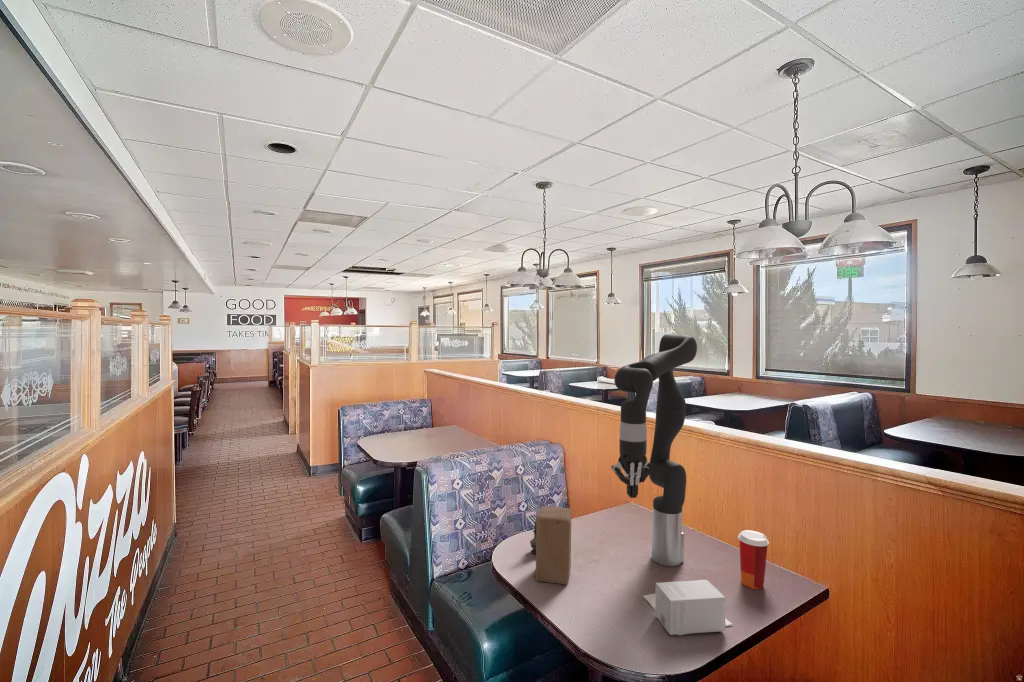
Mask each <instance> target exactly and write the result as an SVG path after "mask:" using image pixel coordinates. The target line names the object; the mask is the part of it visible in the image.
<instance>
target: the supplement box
mask: <svg viewBox="0 0 1024 682" xmlns="http://www.w3.org/2000/svg"><path fill="white" fill-rule="evenodd" d="M655 594H656V598H655V609H654V610H655V611H654V612H655V613H654V614H655V616H656V618H657V619H658V621H659V622H660V623H661V624H662V626H663V627H664V630H665V631H666V632H667V633H668V634H669V635H670V636H673V635H674V636H675V635H678V634H685V635H691V634H699V633H700V634H703V633H715V632H717V633H718V632H726V627H725V618H726V600H727V599H726V597H725V596H724V595H723V593H721V592H720V591H719V589H718V588H717V587H715V586H714V585H713V584H712V583H711V582H710V581H709V580H708V579H698V580H697V579H695V580H681V581H680V580H679V581H668V582H663V581H662V582H655Z"/></svg>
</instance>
